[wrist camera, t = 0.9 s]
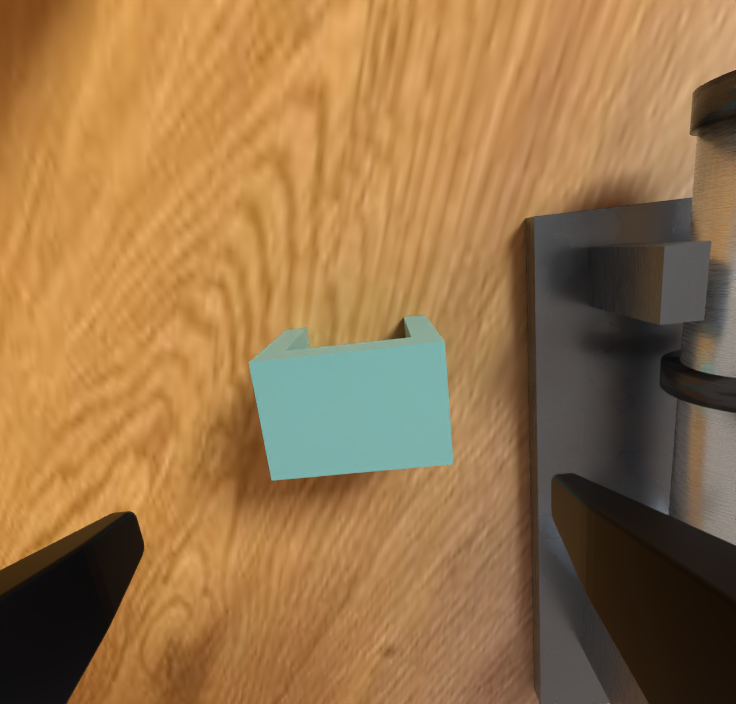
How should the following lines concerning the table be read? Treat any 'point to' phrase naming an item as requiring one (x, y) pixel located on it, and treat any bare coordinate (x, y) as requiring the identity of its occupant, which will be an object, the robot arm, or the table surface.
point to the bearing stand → (600, 405)
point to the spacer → (354, 403)
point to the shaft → (709, 330)
